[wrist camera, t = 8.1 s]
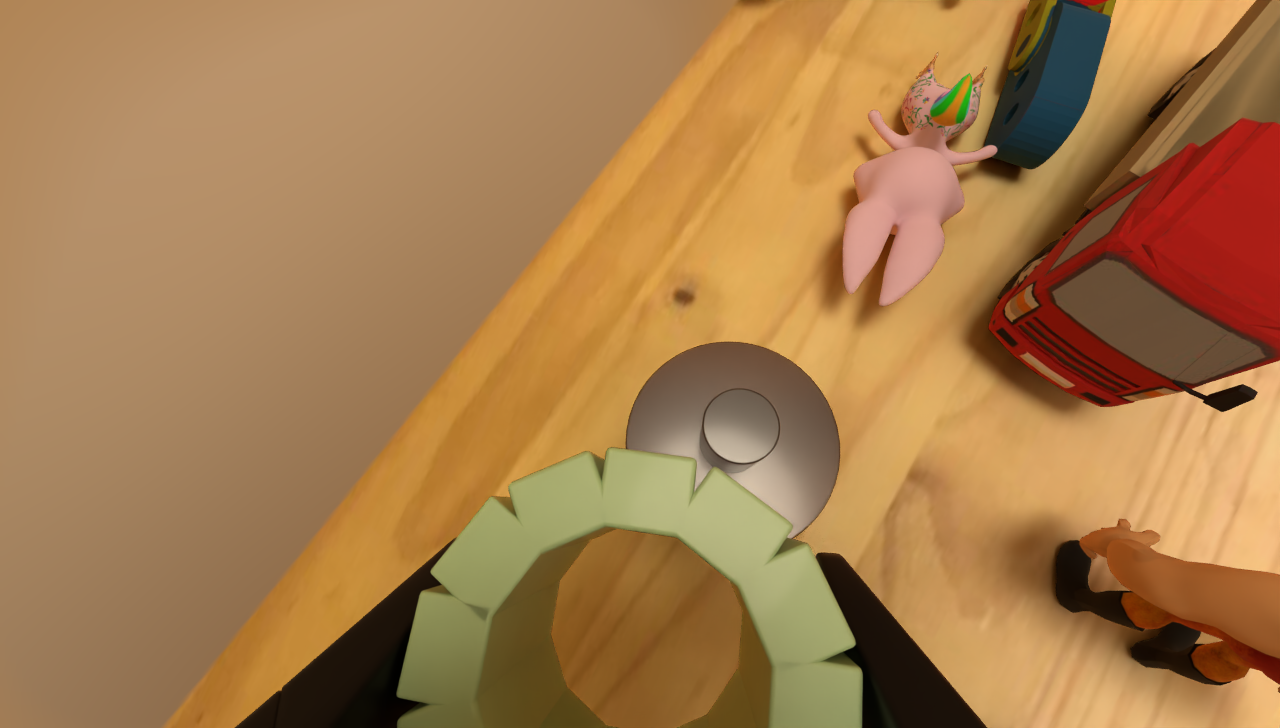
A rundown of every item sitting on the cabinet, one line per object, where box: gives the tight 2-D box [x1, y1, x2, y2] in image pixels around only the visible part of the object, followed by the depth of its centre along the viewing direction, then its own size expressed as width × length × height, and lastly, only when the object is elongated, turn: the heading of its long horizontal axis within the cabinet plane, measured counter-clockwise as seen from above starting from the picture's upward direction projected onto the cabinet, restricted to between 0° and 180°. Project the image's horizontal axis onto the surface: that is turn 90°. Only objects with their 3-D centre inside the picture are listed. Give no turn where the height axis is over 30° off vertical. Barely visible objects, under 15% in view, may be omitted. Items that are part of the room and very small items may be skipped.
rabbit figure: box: [842, 51, 997, 306], centre depth 23 cm, size 6×6×15 cm
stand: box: [626, 342, 840, 539], centre depth 19 cm, size 8×8×9 cm
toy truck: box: [989, 0, 1280, 412], centre depth 19 cm, size 7×21×10 cm, turn 136°
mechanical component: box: [984, 0, 1116, 169], centre depth 25 cm, size 17×4×3 cm
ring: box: [396, 447, 863, 728], centre depth 9 cm, size 6×6×4 cm
